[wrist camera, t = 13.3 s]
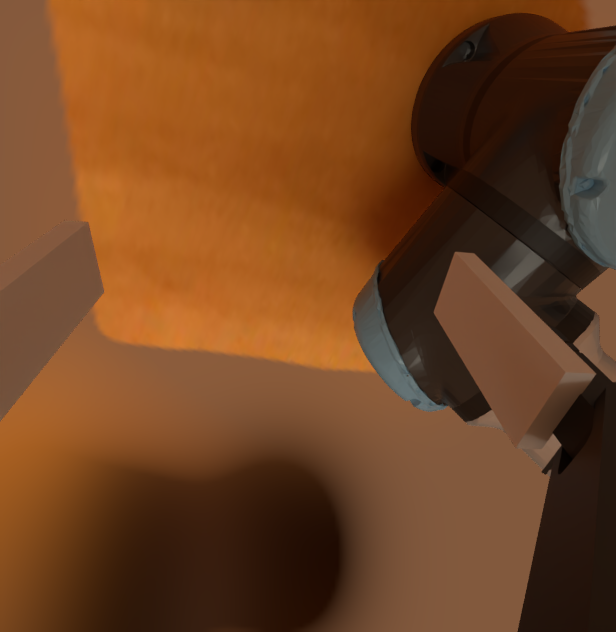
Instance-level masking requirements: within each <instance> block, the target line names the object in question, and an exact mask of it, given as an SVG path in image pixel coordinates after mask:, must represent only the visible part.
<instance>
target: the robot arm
mask: <svg viewBox="0 0 616 632" xmlns="http://www.w3.org/2000/svg"><path fill="white" fill-rule="evenodd" d="M411 130H412V141H413V146H414V150H415V153H416V156H417V158H418V160H419V162H420V164H421V166H422V167H423V169H424V170H425V171H426V172H427V174H428V175H429V176H430V177H432V178H433V179H434V180H435V181H437V182H438V183H439V184H441V185H442V186H443V187H445V188H444V190H443V191H442V192H441V193H440V194H439V196H438V197H437V198H436V199H435V200H434V202H433V203H432V204H431V205H430V206H429V208H428V209H427V210H426V211H425V212H424V214H423V215H422V216H421V217H420V218H419V220H418V221H417V222H416V223H415V224H414V226H413V227H412V228H411V229H410V230H409V232H408V233H407V234H406V235H405V236H404V238H403V239H402V240H401V241H400V242H399V244H398V245H397V246H396V247H395V248H394V250H393V251H392V252H391V253H390V254H389V256H388V257H387V258H386V259H385V260H382V261H381V262H380V263H379V264H378V265H377V267H376V268H375V271H374V274H373V275H372V277H371V278H370V279H369V281H368V282H367V283H366V285H365V286H364V287H363V289H362V290H361V292H360V293H359V294H358V296H357V298H356V300H355V302H354V306H353V321H354V329H355V333H356V336H357V339H358V341H359V343H360V346H361V348H362V350H363V352H364V353H365V355H366V357H367V359H368V360H369V362H370V363H371V365H372V366H373V368H374V369H375V370H376V372H377V373H378V374H379V376H380V377H381V378H382V379H383V380H384V382H385V383H386V384H387V385H388V386H389V387H390V388H391V389H392V390H393V391H394V392H395V393H396V394H397V395H399V396H400V397H401V398H402V399H404V400H405V401H408V400H410V401H411V403H412V404H413V406H414V407H416V408H418V409H421V410H423V411H428V412H429V411H430V412H431V411H437V410H442V409H445V408H446V407H447V406H450V408H452V409H453V410H454V411H455V412H456V413H457V414H458V415H459V416H460V417H461V418H462V419H463V420H464V421H465V422H466V423H467V424H468V425H472V426H484V427H494V428H497V429H500V430H503V431H504V432H505V433H506V434H507V435H508V437H509V438H510V440H511V442H512V443H513V445H514V447H515V448H520V449H522V450H523V451H524V452H525V453H526V454H527V455H528V456H529V457H530V458H531V459H532V460H533V461H534V462H535V463H536V464H537V465H539V467H540V468H541V469H542V473H544V474H548V476H550V479H549V484H548V489H547V494H546V499H545V503H544V508H543V513H542V518H541V523H540V527H539V532H538V537H537V542H536V546H535V551H534V556H533V561H532V565H531V571H530V575H529V580H528V584H527V590H526V594H525V599H524V604H523V608H522V613H521V618H520V623H519V628H518V632H616V361H614V360H613V359H612V358H611V357H610V356H608V355H607V354H606V353H605V352H604V351H603V350H602V348H601V346H600V336H599V335H600V330H599V315H597V313H595V312H594V311H592V310H591V309H590V308H589V307H587V306H586V305H585V304H583V303H582V302H581V301H580V300H578V299H577V298H576V295H577V294H578V293H579V292H580V291H581V289H583V288H585V287H586V286H587V285H588V284H589V283H591V282H592V281H593V280H594V279H596V278H597V277H598V276H599V275H600V274H602V273H603V272H604V271H605V270H606V269H607V268H609V267H610V268H612V269H614V270H616V26H609V27H603V28H595V29H589V30H582V31H575V32H568V31H566V30H565V29H563V28H562V27H561V26H559V25H558V24H556V23H555V22H553V21H551V20H550V19H548V18H545V17H542V16H539V15H534V14H528V13H515V14H508V15H503V16H499V17H494V18H490V19H487V20H484V21H482V22H480V23H477V24H475V25H473V26H472V27H470V28H468V29H467V30H465V31H464V32H462V33H461V34H459V35H458V36H457V37H456V38H454V39H453V40H452V41H451V42H450V43H449V44H448V45H447V46H446V47H445V48H444V49H443V50H442V51H441V53H440V54H439V55H438V56H437V57H436V59H435V60H434V61H433V63H432V64H431V66H430V68H429V69H428V71H427V73H426V74H425V76H424V78H423V80H422V83H421V85H420V87H419V90H418V93H417V96H416V99H415V103H414V107H413V113H412V124H411ZM580 288H581V289H580ZM103 293H104V289H103V284H102V280H101V276H100V271H99V267H98V263H97V258H96V254H95V250H94V245H93V241H92V237H91V232H90V228H89V224H88V222H80V221H68V220H64V221H63V222H61V223H60V224H58V225H57V226H55V227H54V228H52V229H51V230H50V231H48V232H47V233H45V234H44V235H42V236H41V237H39V238H38V239H37V240H35V241H34V242H32V243H31V244H29V245H28V246H27V247H25V248H24V249H22V250H21V251H19V252H18V253H16V254H15V255H14V256H12V257H11V258H9V259H8V260H6V261H5V262H3V263H2V264H1V265H0V421H1V420H2V418H3V417H4V416H5V415H6V414H7V412H8V411H9V410H10V409H11V407H12V406H13V405H14V404H15V402H16V401H17V400H18V399H19V397H20V396H21V395H22V394H23V392H24V391H25V390H26V389H27V387H28V386H29V385H30V384H31V382H32V381H33V380H34V379H35V377H36V376H37V375H38V374H39V373H40V371H41V370H42V369H43V367H44V366H45V365H46V364H47V363H48V361H49V360H50V359H51V358H52V356H53V355H54V353H56V351H57V350H58V349H59V348H60V346H61V345H62V344H63V343H64V341H65V340H66V339H67V338H68V336H69V335H70V334H71V332H72V331H73V330H74V329H75V328H76V326H77V325H78V324H79V323H80V321H81V320H82V319H83V318H84V317H85V315H86V314H87V313H88V312H89V310H90V309H91V308H92V307H93V305H94V304H95V303H96V302H97V300H98V299H99V298H100V297H101V295H102V294H103Z"/></svg>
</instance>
